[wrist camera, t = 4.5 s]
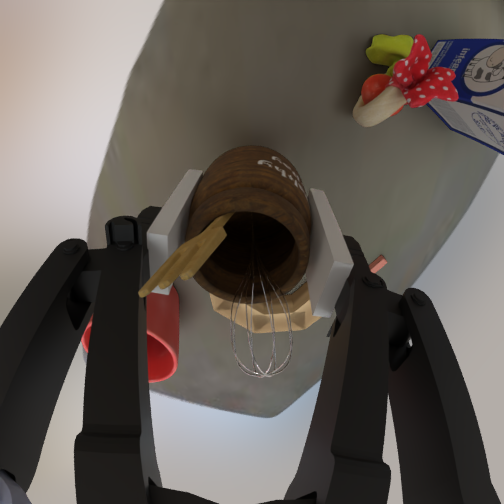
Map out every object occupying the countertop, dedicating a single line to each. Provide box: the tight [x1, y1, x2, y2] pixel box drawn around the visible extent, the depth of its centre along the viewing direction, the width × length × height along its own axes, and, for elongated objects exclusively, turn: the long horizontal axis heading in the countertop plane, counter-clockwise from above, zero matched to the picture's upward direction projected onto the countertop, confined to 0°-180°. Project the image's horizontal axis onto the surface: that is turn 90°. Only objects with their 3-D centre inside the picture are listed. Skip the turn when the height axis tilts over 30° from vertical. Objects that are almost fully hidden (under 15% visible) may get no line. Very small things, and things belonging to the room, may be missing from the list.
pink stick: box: [369, 255, 387, 273], centre depth 33 cm, size 10×1×1 cm, turn 141°
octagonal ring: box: [210, 282, 321, 333], centre depth 31 cm, size 14×14×3 cm
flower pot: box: [81, 285, 179, 382], centre depth 31 cm, size 11×11×10 cm
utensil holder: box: [138, 146, 312, 378], centre depth 13 cm, size 6×6×12 cm
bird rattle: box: [353, 34, 459, 127], centre depth 18 cm, size 6×11×9 cm
